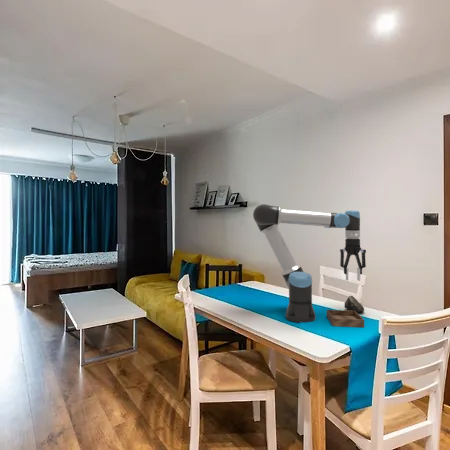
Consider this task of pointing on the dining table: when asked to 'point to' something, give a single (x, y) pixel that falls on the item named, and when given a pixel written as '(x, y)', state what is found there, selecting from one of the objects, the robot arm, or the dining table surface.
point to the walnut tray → (345, 318)
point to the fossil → (353, 305)
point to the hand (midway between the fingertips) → (352, 280)
